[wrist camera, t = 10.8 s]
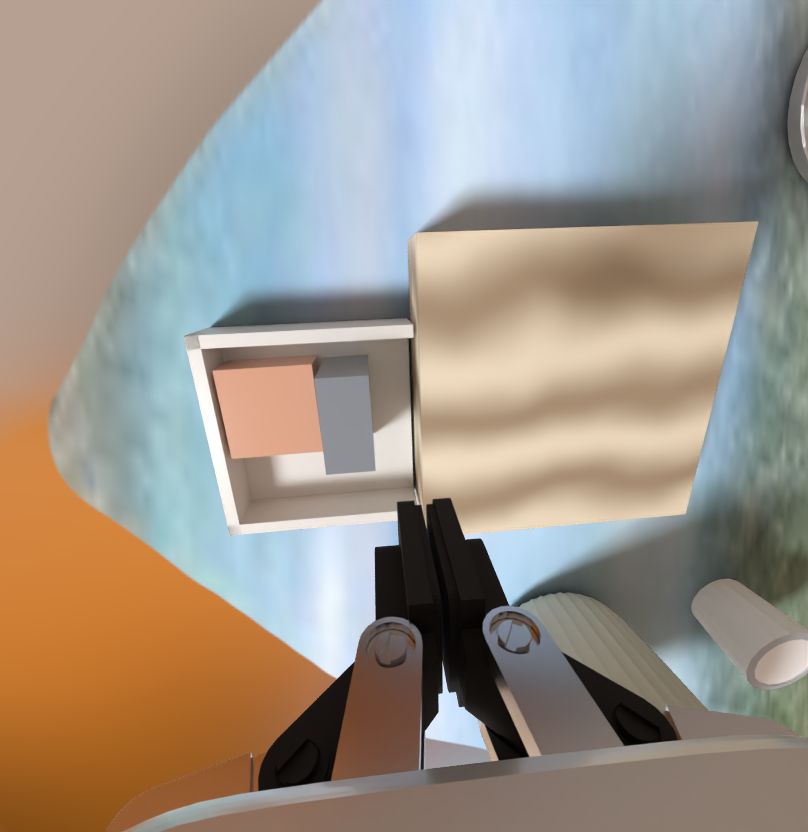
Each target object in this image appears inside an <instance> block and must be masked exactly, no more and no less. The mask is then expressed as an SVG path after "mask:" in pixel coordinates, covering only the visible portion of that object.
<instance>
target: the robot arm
mask: <svg viewBox="0 0 808 832" xmlns="http://www.w3.org/2000/svg"><path fill="white" fill-rule="evenodd" d="M787 125H788V142H789V146H790V150H791V154H792V158H793V161H794V163H795V165H796V167H797V169H798V171H799V173H800V175H801V176H802V177H803V178H804V179H805V180H806V182H807V183H808V48H807V50H806V51H805V54H804V56H803V59H802V61H801V64H800V66H799V69H798V71H797V74H796V76H795V80H794V84H793V88H792V92H791V96H790V101H789V110H788V120H787ZM397 517H398V536H399V545H395V546H383V547H375V605H376V621H374V622H373V623H372V624H370V625H369V626H368V627H367V628H366V629H365V630H364V632H363V633H362V635H361V638H360V640H359V643H358V648H357V653H356V658H355V662H354V663H353V664H352V665H351V666H350V667H349V668H348V669H347V670H346V671H345V672H344V673H343V674H342V675H341V676H340V677H339V678H338V679H337V680H336V681H335V682H334V683H333V684H332V685H331V686H330V687H329V688H328V689H327V690H326V691H325V692H324V693H323V694H322V695H321V696H320V697H319V698H318V699H317V700H316V701H315V702H314V703H313V704H312V705H311V706H310V707H309V708H308V709H307V710H306V711H305V712H304V713H303V714H302V715H301V716H300V717H299V718H298V719H297V720H296V721H295V722H294V723H293V724H292V725H291V726H290V727H289V728H288V729H287V730H286V731H285V732H284V733H283V734H282V735H281V736H280V737H279V738H278V739H277V740H276V741H275V742H274V743H273V745H272V746H271V747H270V749H269V750H268V751H267V752H265V753H262V754H260V755H257V756H254V757H252V754H251V752H249V753H246V754H244V755H241V756H239V757H236V758H233V759H230V760H228V761H225V762H222V763H219V764H217V765H214V766H211V767H209V768H206V769H203V770H201V771H198V772H195V773H192V774H189V775H187V776H184V777H181V778H179V779H176V780H174V781H170V782H168V783H165V784H162V785H160V786H157V787H154V788H152V789H149V790H147V791H146V792H144V793H142V794H140V795H138V796H136V797H135V798H134V799H132V800H131V801H130V802H129V803H128V804H127V805H126V806H125V807H124V808H123V809H121V810H120V811H119V813H118V814H117V816H116V817H115V818H114V820H113V821H112V822H111V824H110V825H109V827H108V828H107V830H106V832H808V738H807V737H800V736H798V735H797V734H796V733H795V732H793V731H792V730H790V729H788V728H786V727H784V726H783V725H781V724H779V723H777V722H774V721H771V720H767V719H764V718H759V717H751V716H744V715H736V714H729V713H721V712H714V711H707V710H699V709H692V708H684V707H677V706H669V705H667V706H666V709H665V710H658V709H657V708H656V707H655V706H653V705H652V704H651V703H649V702H648V701H646V700H645V699H644V698H642V697H640V696H638V695H637V694H635V693H633V692H631V691H630V690H628V689H626V688H624V687H623V686H621V685H619V684H617V683H616V682H614V681H612V680H610V679H609V678H607V677H605V676H603V675H602V674H600V673H598V672H596V671H595V670H593V669H591V668H589V667H588V666H586V665H584V664H582V663H581V662H579V661H577V660H575V659H574V658H572V657H570V656H568V655H567V654H565V653H563V652H561V651H560V649H559V648H558V646H557V645H556V643H555V642H554V640H553V639H552V637H551V636H550V634H549V633H548V631H547V630H546V628H545V627H544V625H543V624H542V623H541V622H540V620H539V619H538V618H537V617H536V616H534V615H533V614H532V613H530V612H529V611H527V610H524V609H522V608H519V607H514V606H509V604H508V601H507V599H506V597H505V594H504V592H503V589H502V587H501V584H500V582H499V580H498V577H497V575H496V572H495V570H494V567H493V565H492V563H491V560H490V558H489V555H488V553H487V550H486V548H485V546H484V543H483V541H482V540H481V539H467V540H465V538H464V535H463V532H462V529H461V526H460V523H459V520H458V518H457V515H456V512H455V509H454V506H453V503H452V500H451V498H439V499H433V500H432V504H427V505H426V522H427V528H426V524H425V519H424V514H423V510H422V505H415V502H414V500H413V501H400V502H397ZM442 660H443V666H444V671H445V677H446V682H447V687H448V691H449V693H450V692H456V694H457V699H458V704H459V707H465V709H466V710H467V711H468V712H470V713H471V714H472V715H473V716H475V717H476V718H477V719H478V723H479V728H480V732H481V735H482V737H483V740H484V743H485V745H486V748H487V751H488V753H489V756H490V759H491V761H492V762H483V763H475V764H466V765H458V766H450V767H441V768H433V769H425V730H426V729H427V727H428V726H429V725H430V723H431V722H432V720H433V719H434V718H435V716H436V715H437V713H438V694H441V693H442V691H443V688H442Z"/></svg>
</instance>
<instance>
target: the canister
mask: <svg viewBox="0 0 808 832" xmlns="http://www.w3.org/2000/svg"><path fill="white" fill-rule="evenodd" d="M519 608H522V609H524V610H527V611H529V612H530V613H532V614H533V615H534V616H536V617H537V618H538V619H539V620H540V622H541V623H542V624H543V625H544V627H545V628H546V630H547V631H548V633H549V634H550V636H551V637H552V639H553V640H554V642H555V643H556V645H557V646H558V648H559V649H560V651H561V652H563V653H565V654H567V655H568V656H570V657H572V658H574V659H575V660H577V661H579V662H581V663H582V664H584V665H586V666H588V667H589V668H591V669H593V670H595V671H596V672H598V673H600V674H602V675H603V676H605V677H607V678H609V679H610V680H612V681H614V682H616V683H617V684H619V685H621V686H623V687H624V688H626V689H628V690H630V691H631V692H633V693H635V694H637V695H638V696H640V697H642V698H644V699H645V700H646V701H648V702H649V703H651V704H652V705H653V706H655V707H656V708H657V709H658V710H665V709H666V706H667V705H669V706H677V707H684V708H692V709H699V710H707V711H709V710H708V709H707V708H706V707H705V706H704V705H703V704H702V703H701V702H700V701H699V700H698V699H697V698H696V697H695V695H694V694H693V693H692V692H691V691H690V690H689V689H688V688H687V687H686V686H685V685H684V683H683V682H682V681H681V680H680V679H679V678H678V677H677V676H676V675H675V674H674V673H673V671H672V670H671V669H670V668H669V667H668V666H667V665H666V664H665V663H664V662H663V661H662V660H661V659H660V658H659V657H658V655H657V654H656V653H655V652H654V651H653V650H652V649H651V648H650V647H649V646H648V645H647V644H646V643H645V642H644V641H643V640H642V639H641V638H640V637H639V636H638V635H637V634H636V633H635V632H634V631H633V629H632V628H631V627H630V626H629V625H628V624H627V623H626V622H625V621H624V620H623V619H622V618H621V617H620V616H618V615H617V614H616V613H615V612H614V611H612V610H611V609H610V608H609V607H607V606H606V605H604V604H603V603H601V602H599V601H596V600H595V599H593V598H591V597H588V596H584V595H582V594H573V593H570V592H567V593H561V592H558V593H556V594H550V593H549V594H548V595H545V596H539V597H538V598H535V599H530V601H528V602H526V603H522V604H521V606H519Z"/></svg>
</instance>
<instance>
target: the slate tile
mask: <svg viewBox="0 0 808 832" xmlns="http://www.w3.org/2000/svg"><path fill="white" fill-rule="evenodd" d="M314 382H315V390H316V398H317V406H318V414H319V422H320V430H321V438H322V446H323V454H324V462H325V470H326V475H332V474H344V473H357V472H369V471H376V468H375V449H374V431H373V418H372V404H371V391H370V377H369V364H368V355H354V356H338V357H325V358H324V360H323V362H322V364H321V366H320V368H319V370H318V372H317V374H316V376H315V378H314Z"/></svg>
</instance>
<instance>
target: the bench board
mask: <svg viewBox="0 0 808 832" xmlns="http://www.w3.org/2000/svg"><path fill="white" fill-rule="evenodd" d="M758 222H759V221H753V222H723V223H692V224H662V225H631V226H601V227H570V228H540V229H509V230H479V231H448V232H418V233H416V234H415V235H413V236H412V237H411V238H410V239H409V240H408V269H409V300H410V322H411V323H412V324H413V338H411V363H412V394H413V426H414V457H415V488H416V501H417V505H422V510H423V514H424V519H425V524H426V528H427V522H426V505H427V504H432V500H433V499H439V498H451V500H452V503H453V506H454V509H455V512H456V515H457V518H458V520H459V523H460V526H461V529H462V532H463V535H465V534H476V533H486V532H497V531H508V530H519V529H530V528H541V527H552V526H562V525H573V524H584V523H595V522H606V521H617V520H628V519H638V518H649V517H660V516H671V515H682V514H686V510H687V506H688V502H689V498H690V494H691V490H692V486H693V482H694V478H695V474H696V470H697V466H698V462H699V458H700V454H701V450H702V446H703V442H704V438H705V434H706V430H707V426H708V422H709V418H710V414H711V410H712V406H713V402H714V398H715V394H716V390H717V386H718V382H719V378H720V374H721V370H722V366H723V362H724V358H725V354H726V350H727V346H728V342H729V338H730V334H731V330H732V326H733V322H734V318H735V314H736V310H737V306H738V302H739V298H740V294H741V290H742V286H743V282H744V278H745V274H746V270H747V266H748V262H749V258H750V254H751V250H752V246H753V242H754V238H755V234H756V230H757V226H758Z"/></svg>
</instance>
